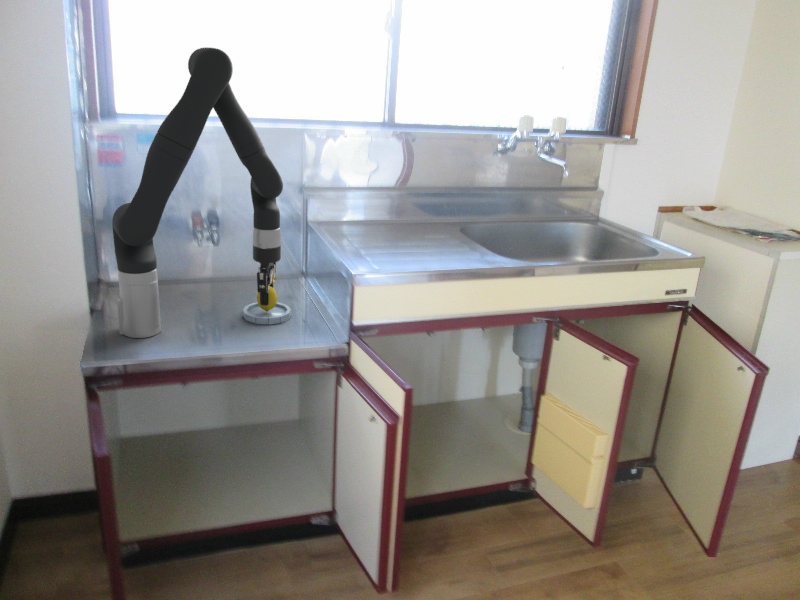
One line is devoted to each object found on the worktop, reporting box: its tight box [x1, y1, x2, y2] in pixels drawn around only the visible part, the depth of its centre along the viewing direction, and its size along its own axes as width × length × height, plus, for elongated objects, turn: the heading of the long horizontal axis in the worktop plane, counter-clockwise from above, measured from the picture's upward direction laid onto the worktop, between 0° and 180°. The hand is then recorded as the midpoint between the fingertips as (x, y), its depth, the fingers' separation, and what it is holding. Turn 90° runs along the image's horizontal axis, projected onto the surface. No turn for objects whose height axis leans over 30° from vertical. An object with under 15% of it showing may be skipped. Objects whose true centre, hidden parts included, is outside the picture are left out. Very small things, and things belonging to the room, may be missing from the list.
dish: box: [242, 301, 292, 325], centre depth 189 cm, size 13×13×2 cm
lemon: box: [256, 285, 278, 312], centre depth 187 cm, size 6×6×8 cm
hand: (266, 300), depth 188 cm, fingers open, 6 cm apart
